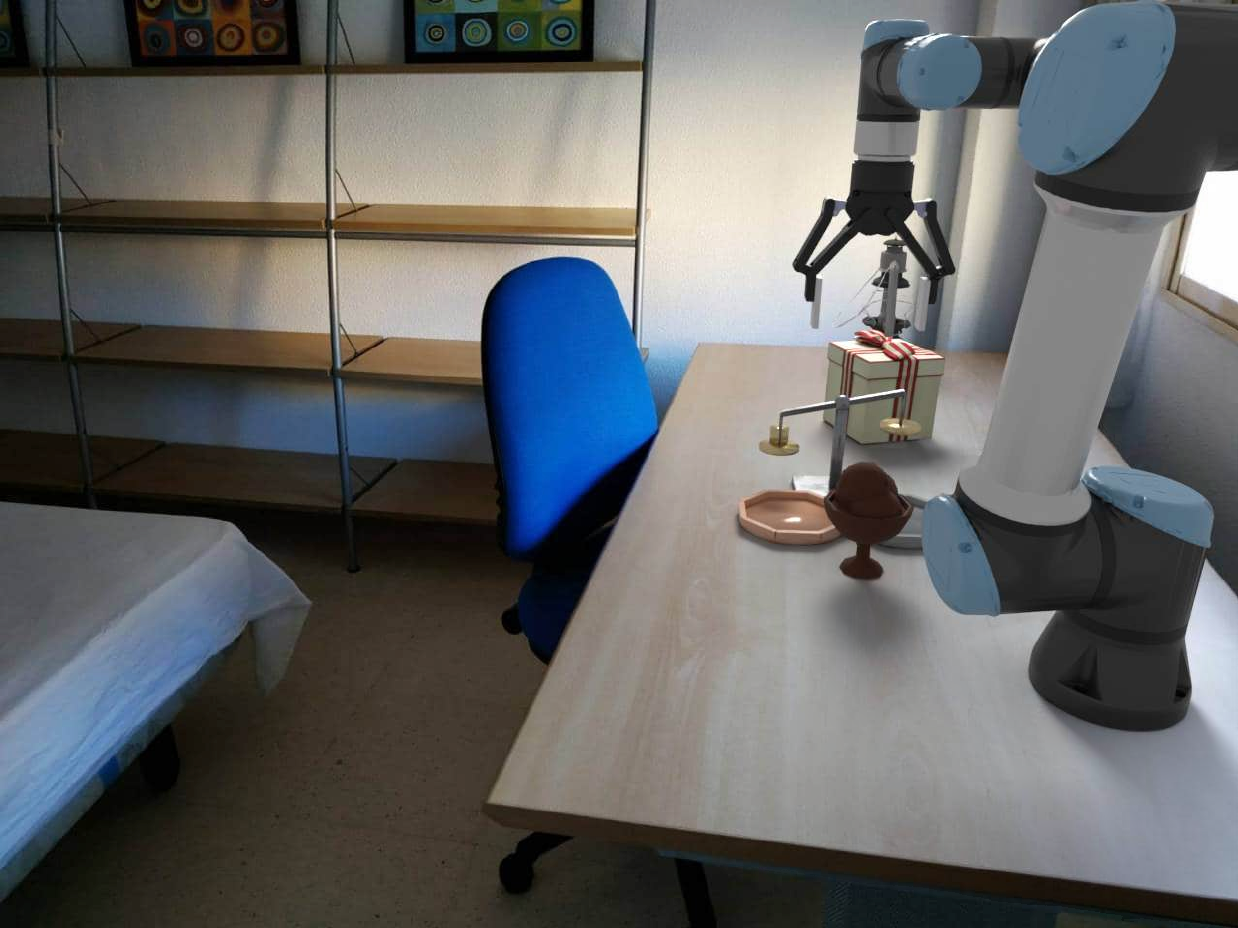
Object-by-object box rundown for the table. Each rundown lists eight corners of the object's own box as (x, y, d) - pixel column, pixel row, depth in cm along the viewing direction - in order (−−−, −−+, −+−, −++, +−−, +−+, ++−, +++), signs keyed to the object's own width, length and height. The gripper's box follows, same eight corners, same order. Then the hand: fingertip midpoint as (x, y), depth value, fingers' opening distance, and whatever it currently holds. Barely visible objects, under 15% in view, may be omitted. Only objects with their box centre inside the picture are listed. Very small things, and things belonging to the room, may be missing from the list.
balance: (917, 506, 145) (931, 398, 139) (758, 501, 147) (764, 394, 140) (906, 485, 153) (919, 382, 147) (754, 481, 154) (760, 378, 148)
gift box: (952, 436, 174) (965, 342, 168) (865, 449, 168) (875, 351, 162) (894, 408, 189) (904, 321, 183) (812, 419, 183) (819, 328, 177)
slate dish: (965, 550, 132) (967, 538, 131) (853, 546, 132) (854, 534, 132) (938, 505, 146) (940, 494, 145) (837, 502, 146) (838, 491, 146)
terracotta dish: (853, 546, 132) (854, 534, 132) (741, 543, 133) (742, 531, 133) (837, 502, 146) (838, 491, 146) (736, 499, 147) (737, 488, 147)
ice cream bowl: (908, 593, 120) (923, 480, 115) (816, 583, 123) (826, 472, 117) (903, 555, 130) (916, 449, 125) (818, 547, 132) (827, 443, 127)
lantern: (816, 359, 222) (827, 225, 211) (898, 356, 225) (914, 223, 215) (847, 382, 206) (861, 237, 195) (936, 378, 209) (954, 235, 198)
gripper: (978, 157, 123) (956, 323, 131) (779, 154, 125) (768, 319, 132) (996, 161, 116) (971, 336, 124) (784, 159, 118) (773, 332, 125)
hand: (866, 327), depth 128 cm, fingers open, 13 cm apart
